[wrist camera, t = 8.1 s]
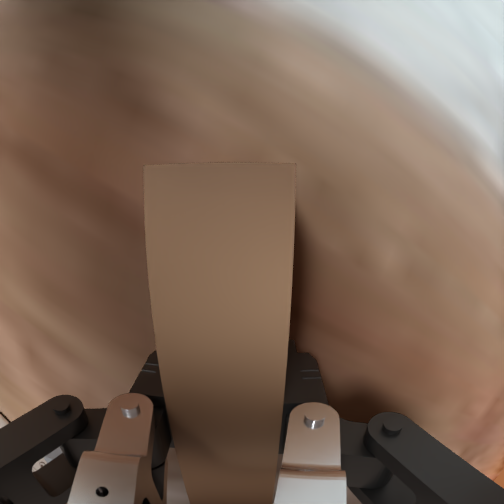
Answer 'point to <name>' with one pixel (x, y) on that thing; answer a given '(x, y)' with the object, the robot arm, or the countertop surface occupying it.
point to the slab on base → (222, 322)
